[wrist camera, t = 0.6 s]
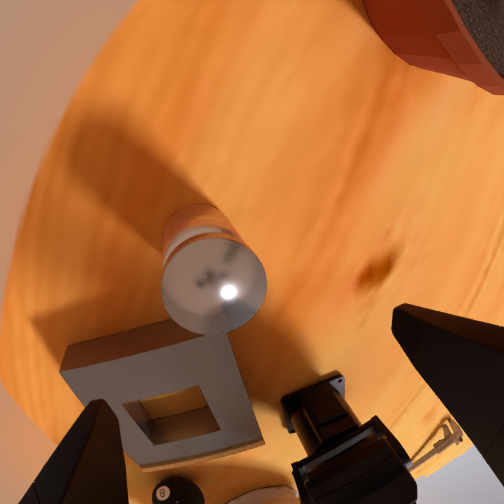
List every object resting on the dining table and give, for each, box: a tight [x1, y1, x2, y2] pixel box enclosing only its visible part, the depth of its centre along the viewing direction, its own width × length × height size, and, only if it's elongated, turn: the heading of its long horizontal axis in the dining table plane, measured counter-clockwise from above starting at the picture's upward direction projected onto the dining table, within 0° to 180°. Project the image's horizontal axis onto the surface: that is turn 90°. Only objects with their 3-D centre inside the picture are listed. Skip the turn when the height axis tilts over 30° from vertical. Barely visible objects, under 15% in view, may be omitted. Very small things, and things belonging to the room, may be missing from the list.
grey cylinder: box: [161, 204, 267, 335], centre depth 16 cm, size 4×4×7 cm
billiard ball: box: [152, 478, 205, 504], centre depth 26 cm, size 6×6×6 cm
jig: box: [59, 318, 265, 473], centre depth 22 cm, size 14×12×3 cm
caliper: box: [408, 419, 463, 472], centre depth 45 cm, size 20×1×6 cm, turn 160°
